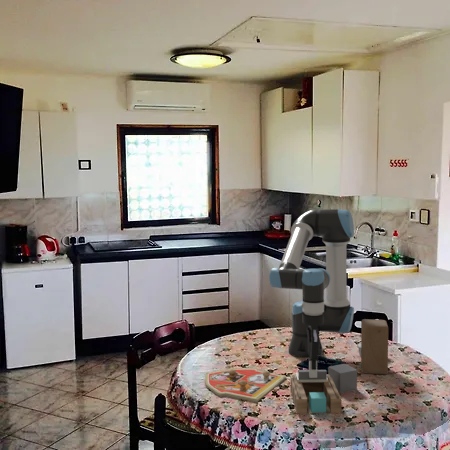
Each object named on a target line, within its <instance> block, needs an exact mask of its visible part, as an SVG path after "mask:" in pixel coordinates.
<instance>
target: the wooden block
mask: <svg viewBox="0 0 450 450" xmlns="http://www.w3.org/2000/svg"><path fill="white" fill-rule="evenodd" d="M360 326H361V327H360V328H361V331H360V333H361V335H360V336H361V337H360V339H361V340H360V343H361V357H360V366H361V372H362V373H363V374H370V375H388V372H389V366H388V365H389V326H388V323H387V320H385V319H368V318H367V319H366V318H364V319H361V325H360Z"/></svg>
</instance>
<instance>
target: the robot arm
mask: <svg viewBox="0 0 450 450" xmlns="http://www.w3.org/2000/svg"><path fill="white" fill-rule="evenodd" d="M354 227H355V224H354V219H353V215H352V213H351V210H347V209H341V208H339V209H337V208H334V209H333V208H332V209H331V208H327V209H326V208H325V209H324V208H323V209H319V208H315V209H311V210H307V211H306V212H304V213H302V214H300V215H299V216H298V218H297V219H296V220H294V222H293V223H292V226H291V228H290V238H289V239H288V242H287V245H286V248H285V251H284V253H283V256H282V259H281V260H280V264H279V267H273V268H271V269H270V271H269V275H268V276H269V277H268V279H269V280H268V281H269V285H270V286H271V287H272V288H277V289H278V288H279V289H285V290H286V289H288V290H291V289H292V290H302V300H300V301H297V302H295V303H293V305H292V309H291V310H292V311H291V312H292V313H291V315H292V316H291V319H292V321H291V322H292V325H291V328H292V334H291V335H292V336H291V339H290V341H289V345H288V353H289V354H290V355H291V356H294V357H297V358H298V357H299V358H306V359H307V360H308V370H309V377H310V378H317V370H318V361H319V357H320V356H322V355H323V353H324V352H323V351H324V350H323V345H322V342H321V339H320V332H325V333H327V332H328V333H335V334H336V333H337V334H348V333H349V332H350V331H351V329H352V325H353V320H354V313H355V308H354V307H353V306H351V301H350V300H349V299H347V293H348V292H347V246H348V244H349V243H350V242H351V239H352V238H353V237H354V236H355V231H354V230H355V228H354ZM313 237H321V238H322V239H321V240H322V242H323V243H324V244H325V263H326V265H325V266H326V267H325V269H324V268H320V267H319V268H307V269H304V268H303V269H301V268H300V267H301V264H302V262H303V258H304V255H305V253H306V249H307V247H308V243H309V241H310V240H312V239H313ZM325 289H326V291H325ZM325 292H326V298H325Z"/></svg>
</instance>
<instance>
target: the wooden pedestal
mask: <svg viewBox="0 0 450 450" xmlns="http://www.w3.org/2000/svg"><path fill="white" fill-rule="evenodd" d="M327 378H328V382H297V379H296V376H295V374H293V375H292V377H290V394H291V397H292V401H293V405H294V408H295V409H294V410H295V412H296V414H297V415H298V414H302V415H303V414H305V415H306V414H307V415H309V414H310V415H311V414H315V415H316V414H320V413H311V410H310V407H309V392H324V394H325V396H326V413H325V414H342V396H341V394H340V393H339V392H338V390H337V388H336V386H335V384H334V382H333V380H332V378H331V377H330V375H328V374H327Z"/></svg>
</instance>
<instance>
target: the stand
mask: <svg viewBox="0 0 450 450" xmlns="http://www.w3.org/2000/svg"><path fill="white" fill-rule="evenodd" d="M327 369H328V370H327V373H328V374H327V375H330V377H331V378H332V380H333V382H334V384H335V386H336V388H337V390H338V393H339V394H343V393H348V392H352V391H357V390H358V369H356V368H354V367H352V366H350V365H349V364H347V363H341V364H337V365H331V366H328V367H327Z"/></svg>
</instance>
